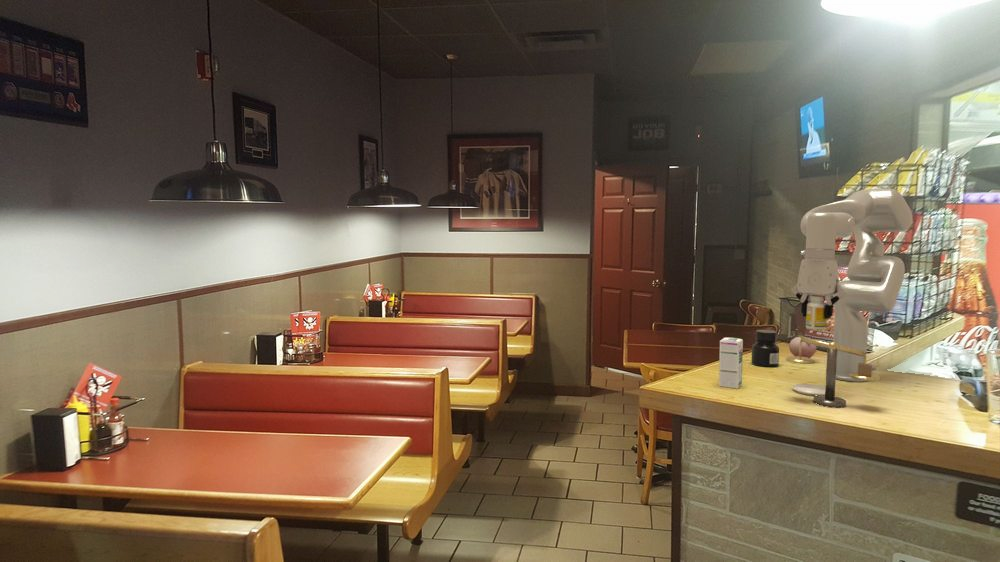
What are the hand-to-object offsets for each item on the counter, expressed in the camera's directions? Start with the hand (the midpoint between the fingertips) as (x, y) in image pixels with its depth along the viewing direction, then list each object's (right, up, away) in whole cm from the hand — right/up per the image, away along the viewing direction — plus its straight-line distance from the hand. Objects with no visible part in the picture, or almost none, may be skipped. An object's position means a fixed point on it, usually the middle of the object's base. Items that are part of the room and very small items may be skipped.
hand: (816, 316), depth 180 cm
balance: (-2, -23, -10) cm, 26 cm away
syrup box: (-22, -22, +9) cm, 32 cm away
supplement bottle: (0, -4, 0) cm, 4 cm away
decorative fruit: (+17, -19, +44) cm, 51 cm away
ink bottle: (+1, -19, +38) cm, 43 cm away
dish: (0, -22, +2) cm, 23 cm away
